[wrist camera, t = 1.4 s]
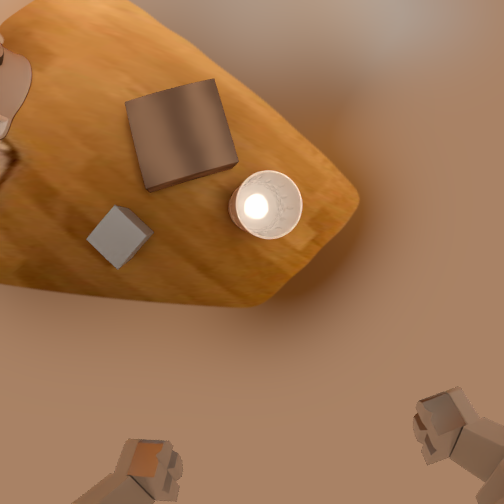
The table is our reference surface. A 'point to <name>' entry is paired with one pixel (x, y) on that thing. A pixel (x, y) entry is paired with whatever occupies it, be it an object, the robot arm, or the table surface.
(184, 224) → the table surface
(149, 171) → the walnut box
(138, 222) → the slate block
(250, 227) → the white cup
